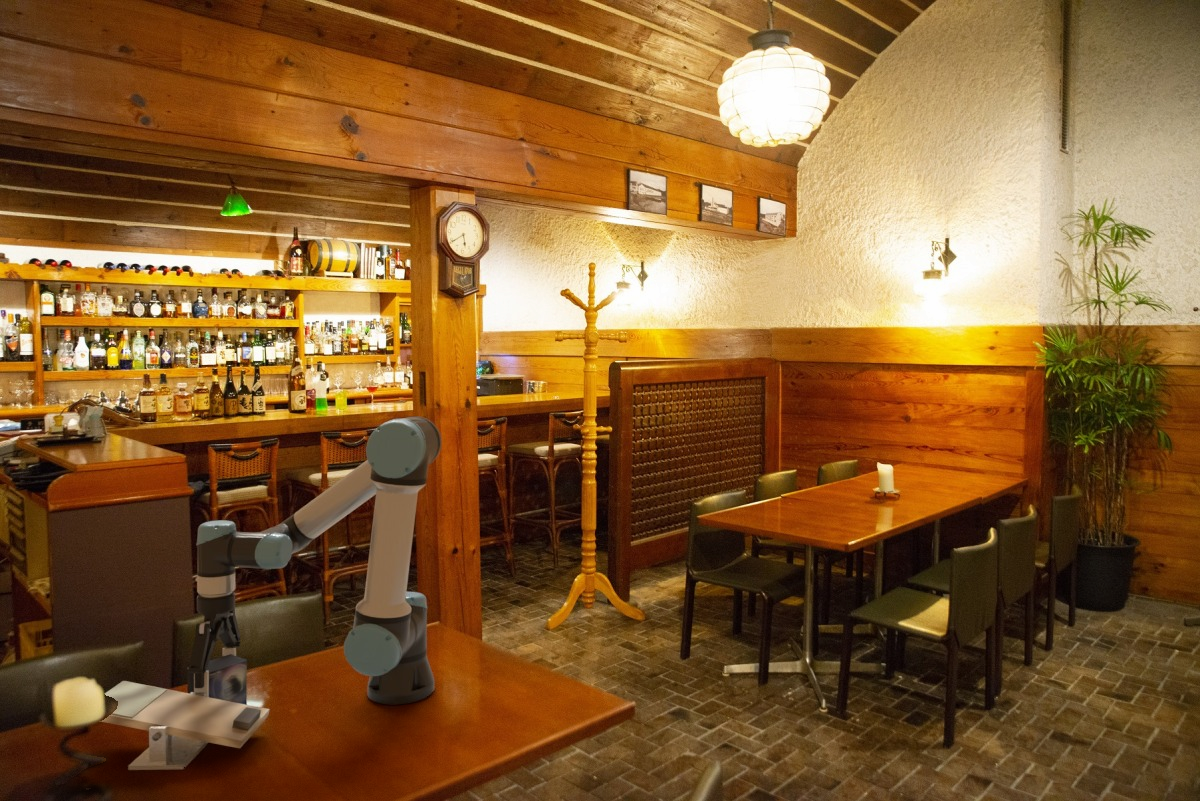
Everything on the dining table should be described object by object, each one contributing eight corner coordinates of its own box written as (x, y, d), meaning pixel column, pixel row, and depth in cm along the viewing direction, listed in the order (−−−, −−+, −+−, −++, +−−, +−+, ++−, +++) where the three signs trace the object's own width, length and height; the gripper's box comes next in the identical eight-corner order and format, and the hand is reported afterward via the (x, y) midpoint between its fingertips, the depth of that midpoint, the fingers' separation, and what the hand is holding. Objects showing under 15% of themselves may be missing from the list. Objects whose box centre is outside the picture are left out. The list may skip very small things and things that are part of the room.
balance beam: (268, 716, 164) (271, 702, 164) (240, 748, 150) (243, 733, 150) (122, 687, 163) (125, 673, 163) (80, 717, 149) (83, 702, 149)
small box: (203, 722, 167) (202, 673, 167) (185, 715, 171) (185, 667, 170) (248, 705, 176) (248, 658, 176) (231, 698, 180) (230, 653, 179)
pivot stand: (224, 726, 166) (224, 690, 165) (183, 769, 148) (182, 729, 147) (176, 726, 165) (175, 691, 165) (128, 770, 147) (127, 730, 147)
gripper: (223, 577, 185) (223, 667, 186) (169, 609, 160) (169, 713, 161) (256, 577, 185) (255, 667, 186) (207, 610, 160) (207, 713, 161)
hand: (215, 688), depth 173 cm, fingers open, 13 cm apart
